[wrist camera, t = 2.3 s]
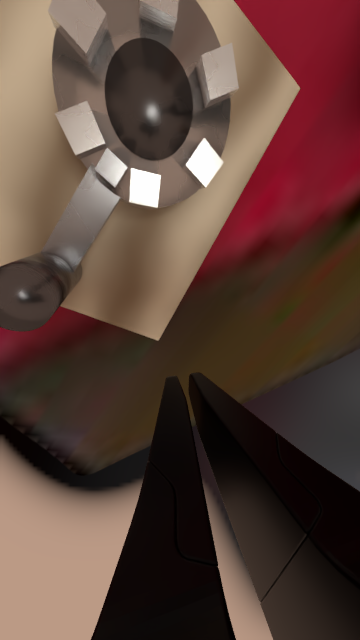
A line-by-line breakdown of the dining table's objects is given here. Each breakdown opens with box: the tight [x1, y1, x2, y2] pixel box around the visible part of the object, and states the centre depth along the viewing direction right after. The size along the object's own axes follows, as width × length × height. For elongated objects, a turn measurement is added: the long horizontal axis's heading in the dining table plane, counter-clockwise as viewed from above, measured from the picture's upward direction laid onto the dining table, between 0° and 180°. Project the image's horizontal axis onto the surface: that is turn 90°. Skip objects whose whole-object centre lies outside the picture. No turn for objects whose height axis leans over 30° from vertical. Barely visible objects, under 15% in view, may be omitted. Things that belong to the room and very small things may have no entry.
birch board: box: [0, 0, 300, 341], centre depth 13 cm, size 22×22×2 cm
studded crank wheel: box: [0, 0, 239, 331], centre depth 11 cm, size 17×9×7 cm, turn 141°
